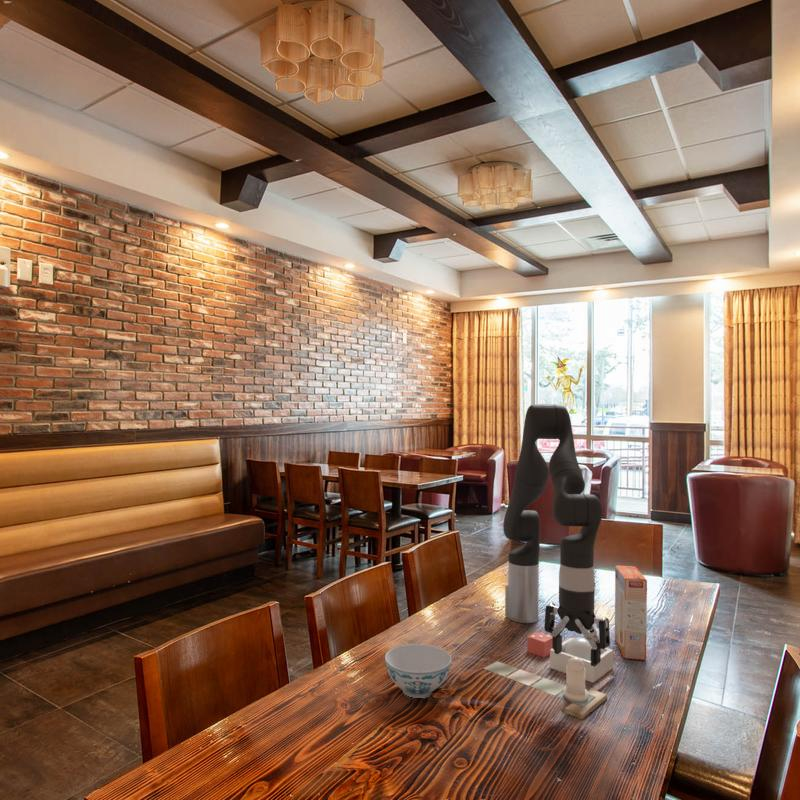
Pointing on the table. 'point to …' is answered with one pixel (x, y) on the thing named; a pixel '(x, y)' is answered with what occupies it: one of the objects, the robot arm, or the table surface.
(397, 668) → the chinaware
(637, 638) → the cracker box
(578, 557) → the robot arm
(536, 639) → the die
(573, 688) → the pawn
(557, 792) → the table surface
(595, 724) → the table surface
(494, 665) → the board
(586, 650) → the dome
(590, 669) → the button housing
